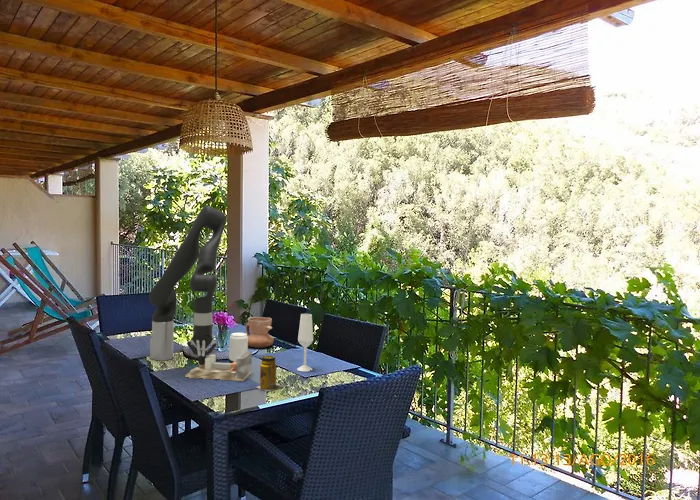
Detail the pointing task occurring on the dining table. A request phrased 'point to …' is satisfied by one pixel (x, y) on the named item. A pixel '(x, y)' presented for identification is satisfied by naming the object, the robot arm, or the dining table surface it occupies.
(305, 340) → the champagne flute
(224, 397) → the dining table surface
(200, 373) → the frame
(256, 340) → the ceramic jug
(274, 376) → the condiment
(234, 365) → the orange stepped bar
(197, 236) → the robot arm
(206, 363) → the plunger
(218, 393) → the dining table surface
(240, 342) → the beverage can
